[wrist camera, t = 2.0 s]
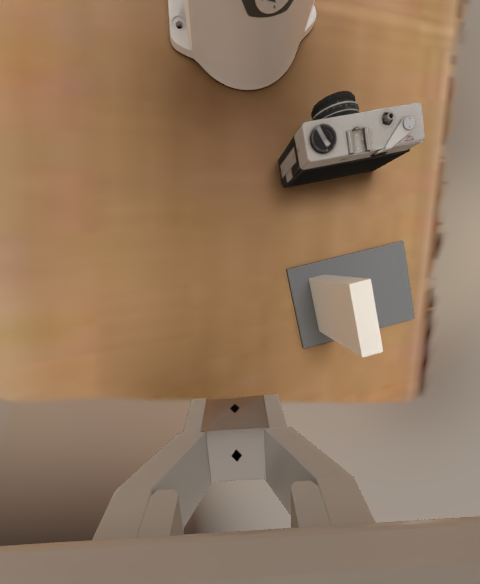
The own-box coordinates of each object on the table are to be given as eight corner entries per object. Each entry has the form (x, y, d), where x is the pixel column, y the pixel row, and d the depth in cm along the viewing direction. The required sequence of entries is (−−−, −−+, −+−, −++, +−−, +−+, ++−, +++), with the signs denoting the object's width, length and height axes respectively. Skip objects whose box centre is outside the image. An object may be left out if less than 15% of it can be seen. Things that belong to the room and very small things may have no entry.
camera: (373, 115, 36) (433, 64, 26) (372, 184, 38) (429, 159, 28) (275, 117, 35) (301, 64, 25) (278, 188, 36) (304, 165, 26)
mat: (286, 269, 37) (287, 269, 37) (401, 241, 39) (403, 240, 38) (302, 347, 39) (303, 348, 38) (412, 317, 40) (414, 318, 40)
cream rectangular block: (308, 278, 37) (348, 284, 26) (325, 274, 37) (372, 278, 27) (319, 331, 38) (362, 357, 27) (335, 326, 38) (384, 351, 28)
